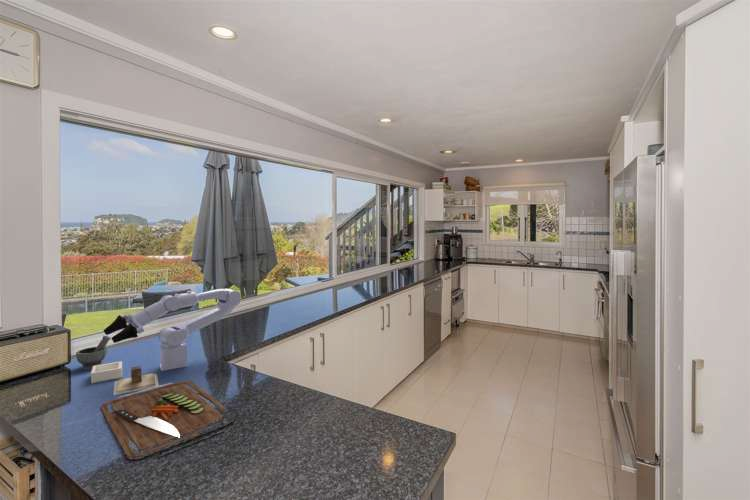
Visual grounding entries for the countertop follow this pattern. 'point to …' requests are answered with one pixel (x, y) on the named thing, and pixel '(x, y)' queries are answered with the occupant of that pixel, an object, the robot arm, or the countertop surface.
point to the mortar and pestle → (93, 354)
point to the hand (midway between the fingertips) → (108, 336)
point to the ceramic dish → (106, 372)
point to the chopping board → (160, 416)
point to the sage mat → (136, 389)
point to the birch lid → (135, 381)
